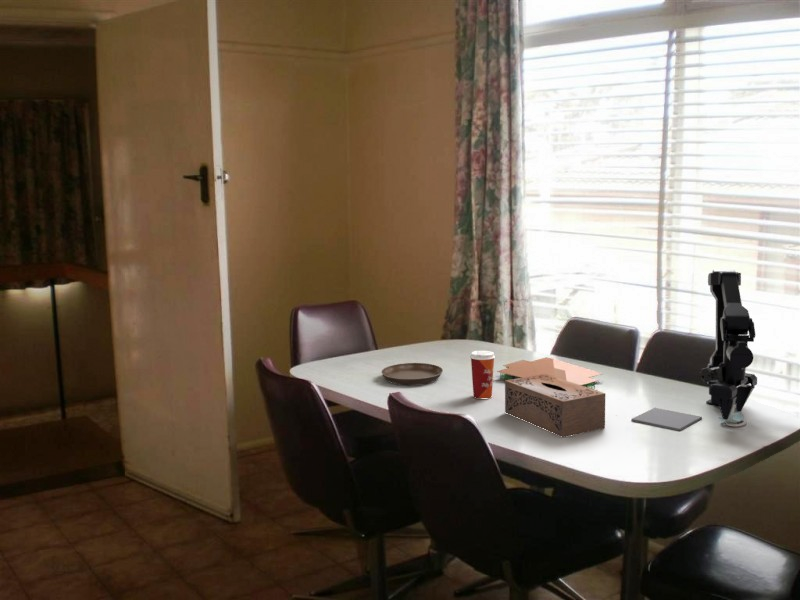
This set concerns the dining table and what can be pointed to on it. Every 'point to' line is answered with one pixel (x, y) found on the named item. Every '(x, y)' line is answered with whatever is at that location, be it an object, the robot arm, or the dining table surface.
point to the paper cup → (482, 373)
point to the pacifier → (734, 419)
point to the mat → (666, 419)
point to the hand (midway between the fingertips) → (732, 415)
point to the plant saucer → (412, 373)
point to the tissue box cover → (555, 404)
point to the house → (551, 370)
